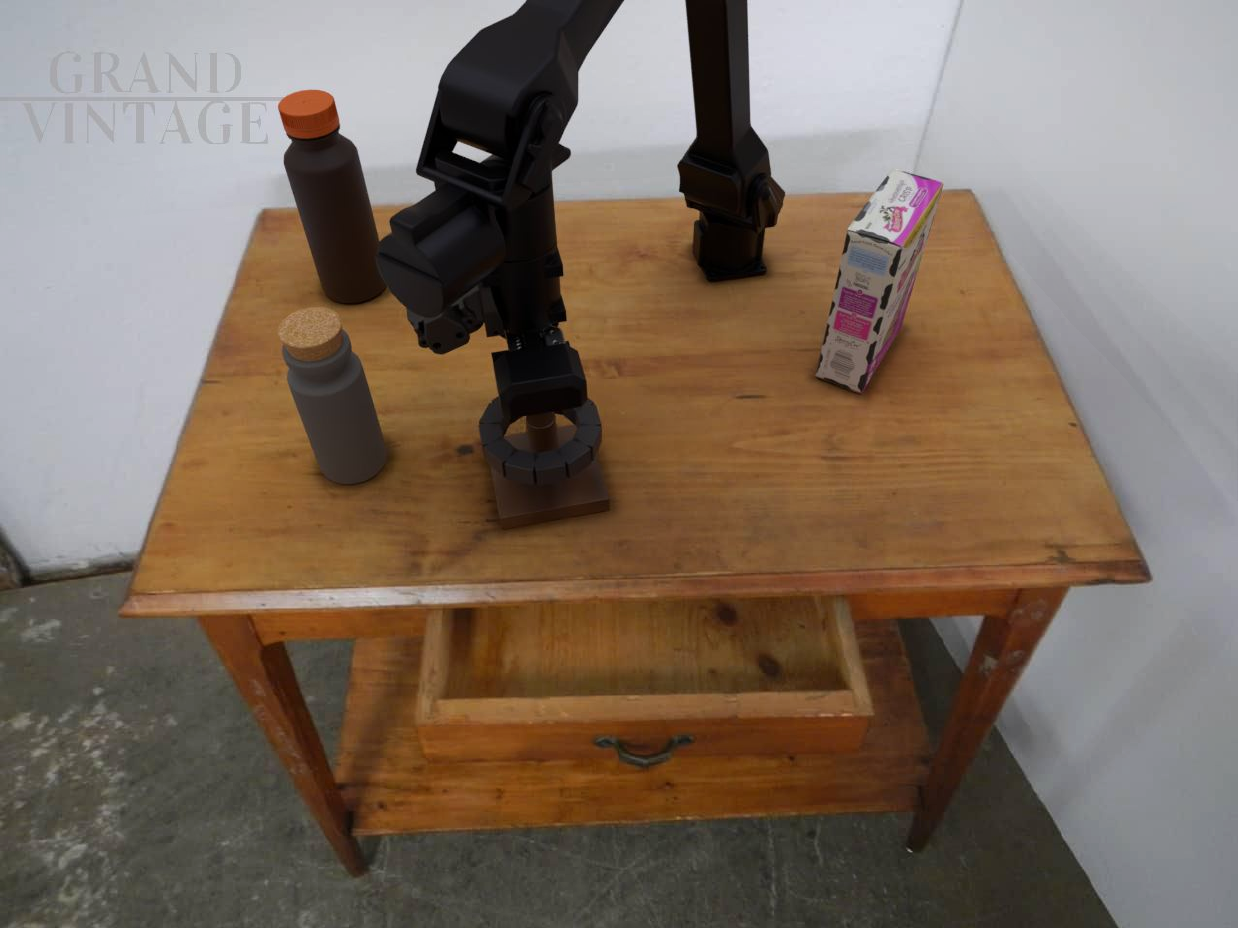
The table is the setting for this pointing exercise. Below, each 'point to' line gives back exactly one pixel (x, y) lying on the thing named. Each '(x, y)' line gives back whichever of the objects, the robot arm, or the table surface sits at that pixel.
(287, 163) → the vinegar
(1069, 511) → the table surface
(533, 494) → the peg stand
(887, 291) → the candy bar box
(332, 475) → the bottle
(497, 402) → the ring
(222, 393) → the table surface
